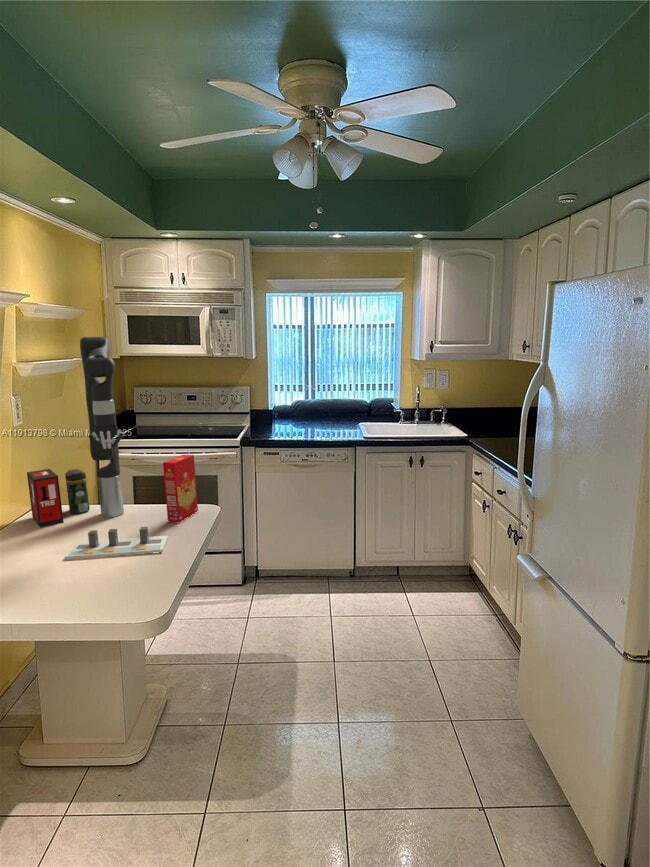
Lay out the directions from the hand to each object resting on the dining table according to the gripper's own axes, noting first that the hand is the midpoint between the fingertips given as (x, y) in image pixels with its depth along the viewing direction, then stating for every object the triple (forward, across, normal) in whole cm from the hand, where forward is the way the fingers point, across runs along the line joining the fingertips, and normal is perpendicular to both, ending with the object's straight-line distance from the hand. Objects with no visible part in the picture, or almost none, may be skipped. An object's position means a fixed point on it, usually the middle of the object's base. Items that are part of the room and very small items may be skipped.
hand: (109, 457), depth 213 cm
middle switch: (+29, -2, +13) cm, 32 cm away
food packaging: (+31, -23, -18) cm, 42 cm away
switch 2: (+29, -13, +13) cm, 34 cm away
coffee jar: (+31, +24, -36) cm, 53 cm away
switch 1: (+29, +5, +13) cm, 32 cm away
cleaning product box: (+31, +34, -26) cm, 53 cm away
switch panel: (+31, -4, +14) cm, 34 cm away
